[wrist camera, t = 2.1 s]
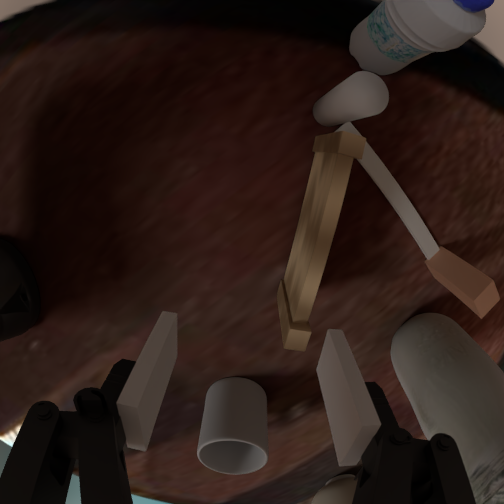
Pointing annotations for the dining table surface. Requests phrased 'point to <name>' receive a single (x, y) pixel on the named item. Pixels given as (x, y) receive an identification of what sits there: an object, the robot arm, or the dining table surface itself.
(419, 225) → the fence
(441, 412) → the white tapered flask
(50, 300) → the dining table surface
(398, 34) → the bottle
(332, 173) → the gate
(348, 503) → the bowl
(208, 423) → the mug
